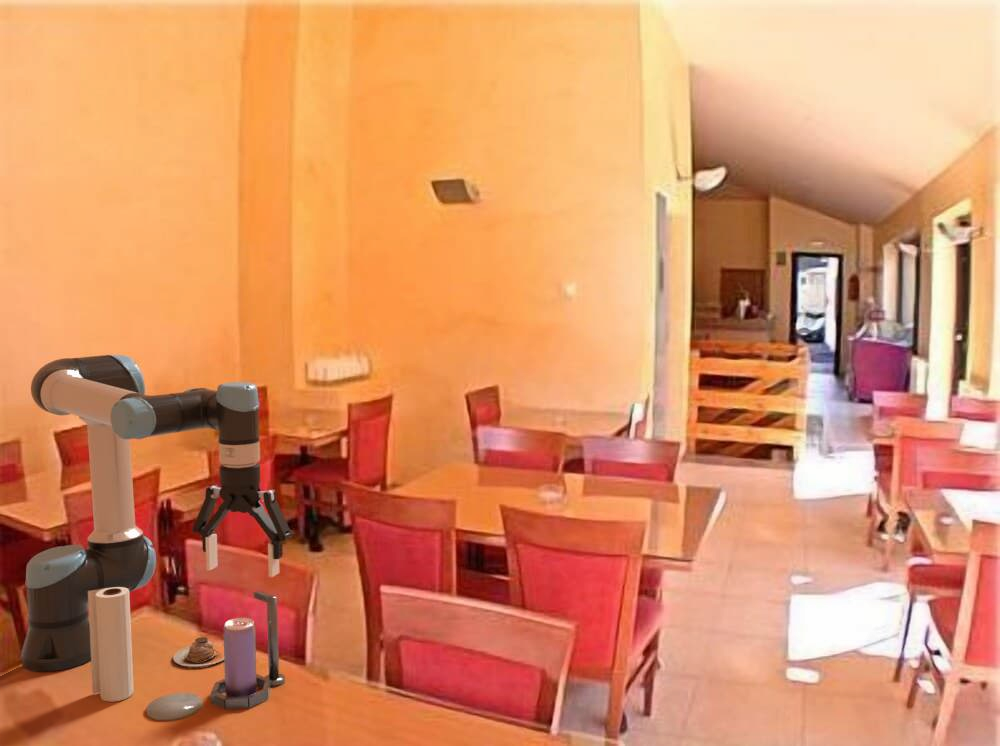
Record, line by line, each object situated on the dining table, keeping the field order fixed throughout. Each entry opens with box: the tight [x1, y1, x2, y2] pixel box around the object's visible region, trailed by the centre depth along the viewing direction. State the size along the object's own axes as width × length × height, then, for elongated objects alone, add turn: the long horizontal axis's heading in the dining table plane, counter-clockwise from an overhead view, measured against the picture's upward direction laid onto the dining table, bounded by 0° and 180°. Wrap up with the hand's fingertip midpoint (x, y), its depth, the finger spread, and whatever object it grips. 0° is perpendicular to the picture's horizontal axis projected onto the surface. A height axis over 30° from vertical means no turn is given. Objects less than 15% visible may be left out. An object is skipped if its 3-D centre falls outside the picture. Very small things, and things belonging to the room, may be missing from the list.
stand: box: [210, 590, 286, 710], centre depth 181 cm, size 11×16×18 cm
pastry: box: [172, 636, 224, 669], centre depth 198 cm, size 12×12×5 cm
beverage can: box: [222, 617, 258, 697], centre depth 179 cm, size 6×6×15 cm
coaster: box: [145, 692, 203, 721], centre depth 175 cm, size 10×10×1 cm
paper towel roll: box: [88, 587, 134, 703], centre depth 179 cm, size 7×6×21 cm
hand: (242, 571), depth 177 cm, fingers open, 13 cm apart
